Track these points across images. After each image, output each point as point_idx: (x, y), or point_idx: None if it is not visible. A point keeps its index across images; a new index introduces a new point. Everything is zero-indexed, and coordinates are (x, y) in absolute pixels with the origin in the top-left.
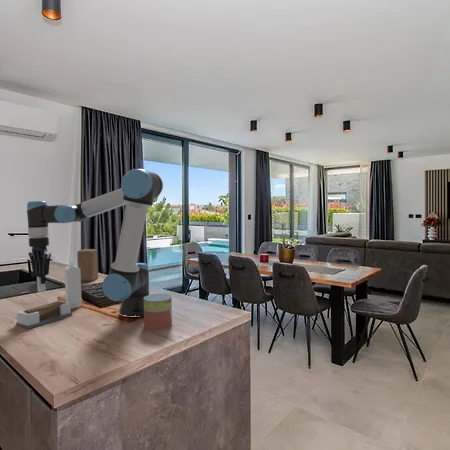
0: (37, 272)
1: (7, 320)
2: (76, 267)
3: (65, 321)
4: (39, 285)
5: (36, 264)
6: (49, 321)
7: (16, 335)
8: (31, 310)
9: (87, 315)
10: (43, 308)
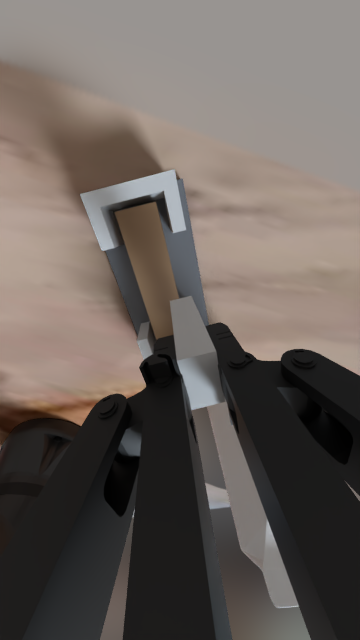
0: (232, 396)
1: (263, 170)
2: (255, 557)
3: (97, 316)
4: (172, 319)
5: (335, 611)
6: (117, 279)
7: (41, 132)
8: (129, 227)
9: (112, 372)
10: (138, 280)
